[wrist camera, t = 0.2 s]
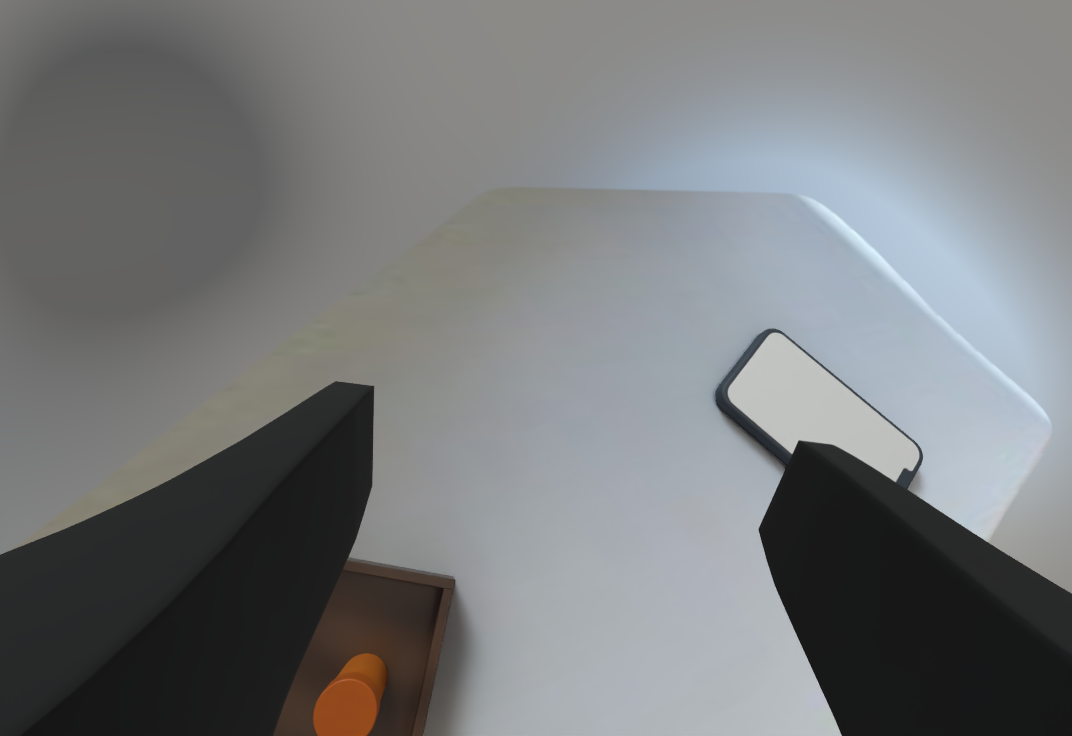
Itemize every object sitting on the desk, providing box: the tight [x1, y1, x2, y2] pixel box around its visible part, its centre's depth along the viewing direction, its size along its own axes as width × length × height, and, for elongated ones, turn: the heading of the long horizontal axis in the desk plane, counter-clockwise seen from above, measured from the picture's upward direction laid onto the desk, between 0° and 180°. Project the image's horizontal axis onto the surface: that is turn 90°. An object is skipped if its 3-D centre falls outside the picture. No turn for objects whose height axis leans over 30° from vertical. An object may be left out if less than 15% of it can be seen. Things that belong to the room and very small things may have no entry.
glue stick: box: [313, 653, 388, 736], centre depth 30 cm, size 3×3×8 cm
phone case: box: [715, 329, 923, 489], centre depth 44 cm, size 9×2×16 cm
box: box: [273, 557, 455, 736], centre depth 32 cm, size 13×15×4 cm
